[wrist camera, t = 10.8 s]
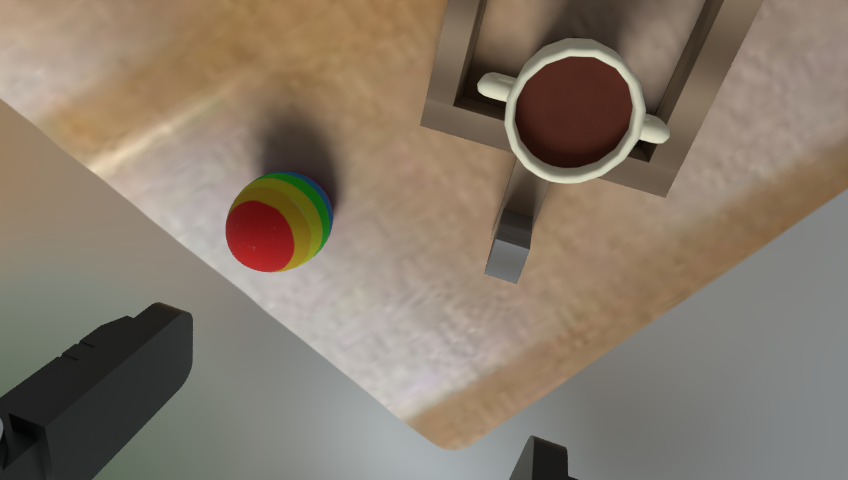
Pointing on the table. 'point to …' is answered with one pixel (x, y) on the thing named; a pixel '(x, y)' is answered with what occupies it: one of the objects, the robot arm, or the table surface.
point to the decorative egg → (279, 222)
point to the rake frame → (642, 168)
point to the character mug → (573, 110)
